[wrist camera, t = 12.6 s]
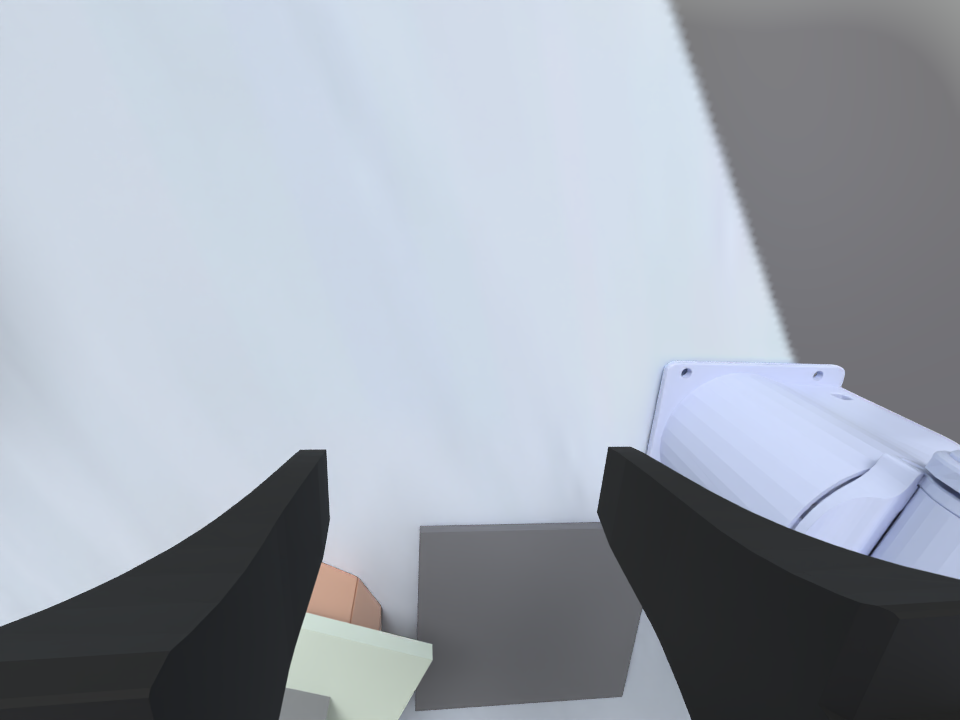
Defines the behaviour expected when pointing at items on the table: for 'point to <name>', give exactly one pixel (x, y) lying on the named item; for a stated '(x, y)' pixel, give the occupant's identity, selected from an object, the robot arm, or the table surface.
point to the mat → (522, 615)
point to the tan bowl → (344, 599)
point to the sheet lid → (351, 672)
